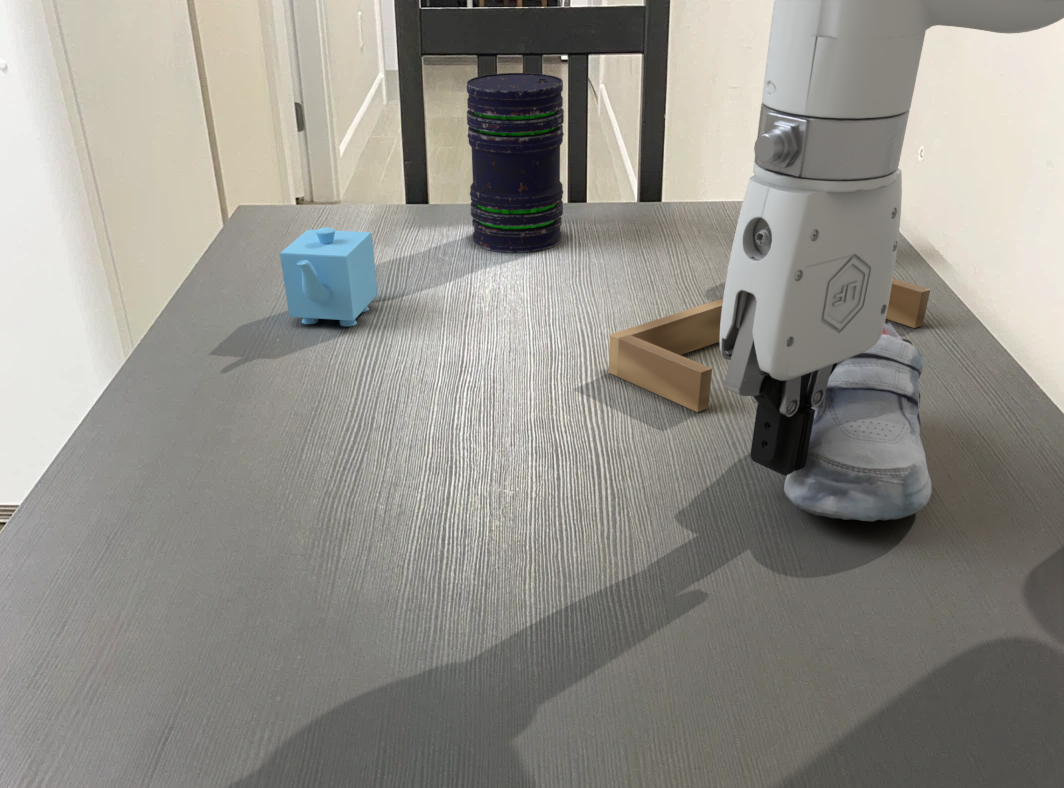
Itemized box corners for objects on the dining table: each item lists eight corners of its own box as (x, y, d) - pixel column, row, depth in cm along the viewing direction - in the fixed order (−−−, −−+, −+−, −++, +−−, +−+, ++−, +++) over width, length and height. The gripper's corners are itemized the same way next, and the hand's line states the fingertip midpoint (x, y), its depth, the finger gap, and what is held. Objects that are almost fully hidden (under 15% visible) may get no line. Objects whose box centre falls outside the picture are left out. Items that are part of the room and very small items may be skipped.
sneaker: (764, 540, 69) (786, 387, 62) (772, 411, 83) (791, 277, 77) (935, 555, 67) (976, 400, 60) (913, 421, 82) (944, 285, 75)
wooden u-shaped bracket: (831, 296, 103) (837, 260, 101) (922, 325, 97) (931, 288, 95) (608, 372, 89) (609, 334, 87) (697, 412, 83) (701, 372, 81)
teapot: (342, 344, 95) (331, 255, 90) (277, 340, 96) (262, 251, 91) (383, 298, 104) (375, 214, 99) (323, 295, 105) (312, 212, 100)
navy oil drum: (482, 256, 114) (476, 93, 104) (463, 230, 121) (456, 75, 111) (574, 248, 115) (576, 87, 106) (549, 222, 123) (549, 70, 113)
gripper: (790, 181, 52) (740, 524, 63) (972, 137, 59) (897, 452, 71) (677, 152, 56) (650, 477, 68) (859, 115, 63) (807, 414, 75)
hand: (776, 464), depth 69 cm, fingers closed
